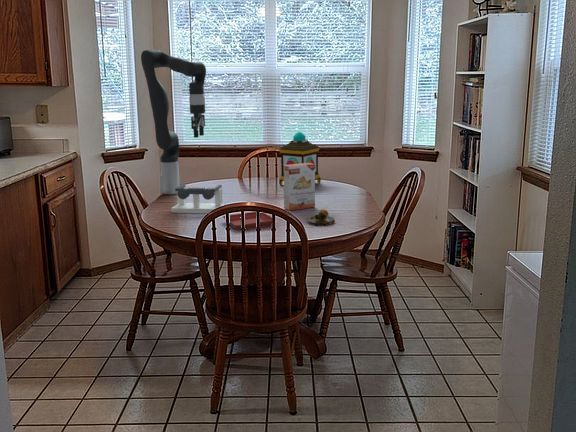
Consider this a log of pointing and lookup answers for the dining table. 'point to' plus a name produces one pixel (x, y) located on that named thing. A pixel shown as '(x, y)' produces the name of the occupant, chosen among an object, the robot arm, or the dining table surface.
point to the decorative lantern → (299, 154)
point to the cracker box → (299, 186)
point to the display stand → (198, 204)
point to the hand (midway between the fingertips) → (199, 136)
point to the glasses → (196, 191)
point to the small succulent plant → (321, 218)
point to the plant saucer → (250, 220)
